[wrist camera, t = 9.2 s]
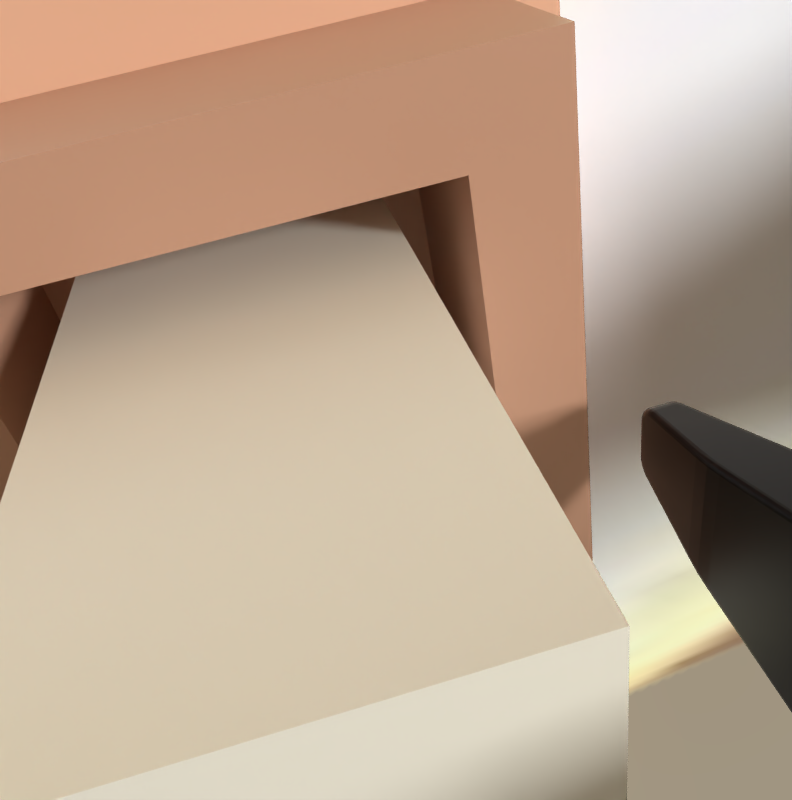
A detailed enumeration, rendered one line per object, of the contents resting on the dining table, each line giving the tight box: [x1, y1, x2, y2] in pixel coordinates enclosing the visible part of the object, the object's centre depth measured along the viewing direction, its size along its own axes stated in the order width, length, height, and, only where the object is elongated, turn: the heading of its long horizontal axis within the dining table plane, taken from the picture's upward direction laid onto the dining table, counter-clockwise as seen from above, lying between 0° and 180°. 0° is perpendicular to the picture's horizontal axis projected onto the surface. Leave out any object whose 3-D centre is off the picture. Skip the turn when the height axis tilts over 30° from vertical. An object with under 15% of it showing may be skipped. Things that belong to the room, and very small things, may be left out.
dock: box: [0, 0, 592, 560], centre depth 11 cm, size 10×12×4 cm
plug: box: [0, 198, 630, 800], centre depth 9 cm, size 4×6×8 cm, turn 10°
